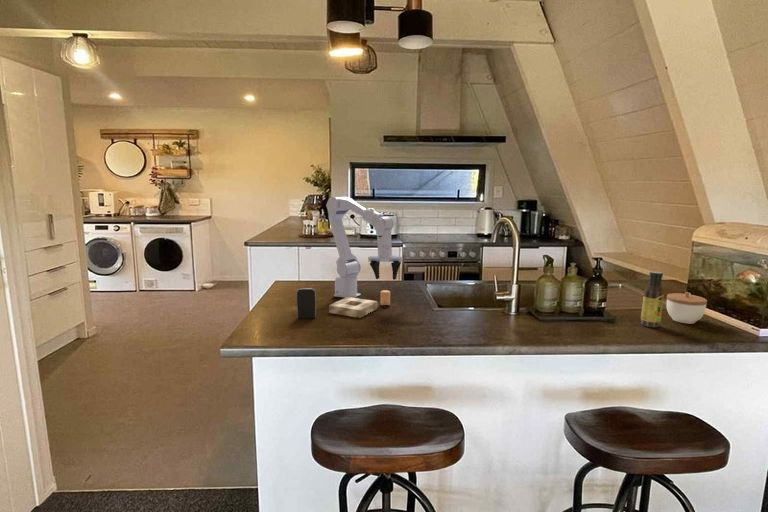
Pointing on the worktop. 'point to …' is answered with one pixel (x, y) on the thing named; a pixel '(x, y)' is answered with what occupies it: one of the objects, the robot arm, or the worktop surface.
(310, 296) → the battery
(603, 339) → the worktop surface
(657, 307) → the sauce bottle
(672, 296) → the lidded bowl
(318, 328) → the worktop surface
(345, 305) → the socket block
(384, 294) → the peg
